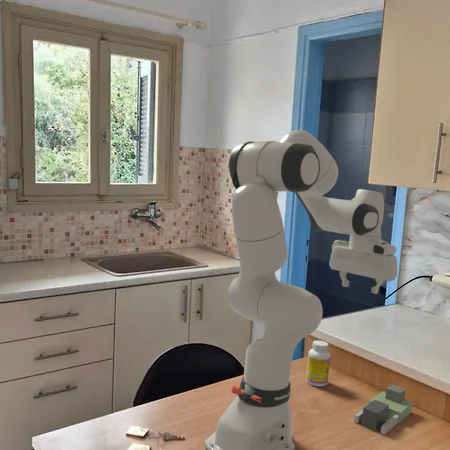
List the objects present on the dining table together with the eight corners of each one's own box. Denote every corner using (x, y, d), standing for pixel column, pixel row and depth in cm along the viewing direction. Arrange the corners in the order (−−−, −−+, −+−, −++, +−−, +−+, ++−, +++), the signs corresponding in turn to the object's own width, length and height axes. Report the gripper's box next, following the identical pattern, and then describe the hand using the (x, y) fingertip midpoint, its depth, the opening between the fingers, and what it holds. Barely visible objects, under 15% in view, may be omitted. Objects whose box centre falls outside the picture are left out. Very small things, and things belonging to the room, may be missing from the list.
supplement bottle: (327, 388, 157) (331, 348, 155) (305, 385, 158) (309, 345, 156) (327, 380, 163) (331, 341, 162) (306, 376, 165) (310, 338, 163)
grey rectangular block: (372, 416, 141) (374, 399, 141) (386, 422, 139) (388, 404, 138) (361, 425, 136) (363, 407, 136) (375, 431, 134) (377, 413, 133)
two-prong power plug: (385, 435, 132) (387, 413, 131) (353, 421, 138) (355, 400, 137) (411, 412, 146) (414, 392, 145) (381, 400, 151) (383, 381, 150)
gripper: (328, 239, 157) (323, 283, 158) (393, 250, 143) (387, 299, 145) (338, 237, 161) (333, 281, 163) (402, 248, 148) (396, 295, 150)
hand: (359, 289), depth 154 cm, fingers open, 8 cm apart
